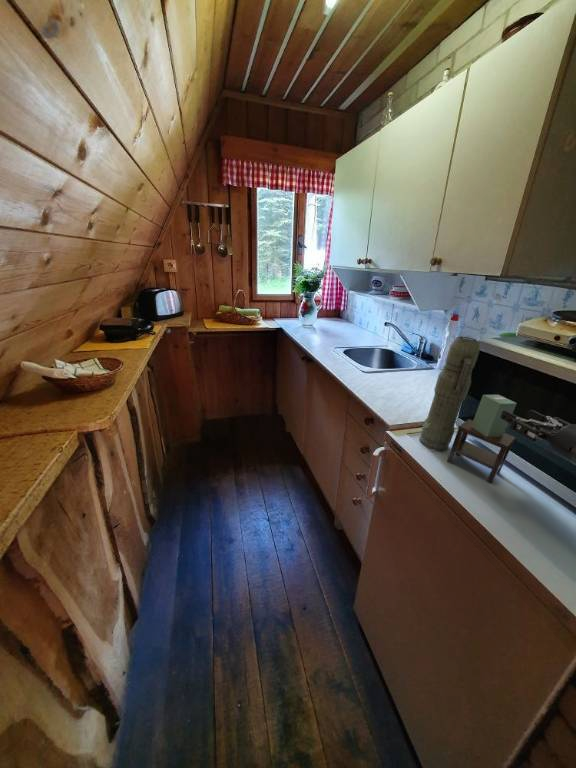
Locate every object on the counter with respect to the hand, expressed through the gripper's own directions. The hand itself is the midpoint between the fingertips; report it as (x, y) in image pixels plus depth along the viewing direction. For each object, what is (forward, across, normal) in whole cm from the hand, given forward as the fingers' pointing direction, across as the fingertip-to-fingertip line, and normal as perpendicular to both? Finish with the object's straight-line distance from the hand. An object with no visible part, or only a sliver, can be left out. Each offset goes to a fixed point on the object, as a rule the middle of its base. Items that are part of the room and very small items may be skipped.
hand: (515, 413), depth 77 cm
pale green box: (+5, 0, +8) cm, 10 cm away
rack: (+5, 0, +20) cm, 21 cm away
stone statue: (+18, +4, +20) cm, 28 cm away
